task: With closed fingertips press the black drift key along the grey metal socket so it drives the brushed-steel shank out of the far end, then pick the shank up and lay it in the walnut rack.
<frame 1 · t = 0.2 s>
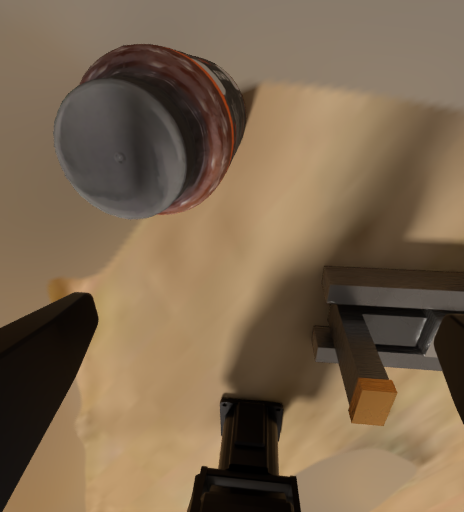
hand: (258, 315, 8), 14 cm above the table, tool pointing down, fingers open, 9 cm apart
socket: (420, 311, 24), on the table
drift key: (386, 350, 21), point 4 cm above the table, slide at 0.0 cm
supplement bottle: (198, 116, 19), on the table
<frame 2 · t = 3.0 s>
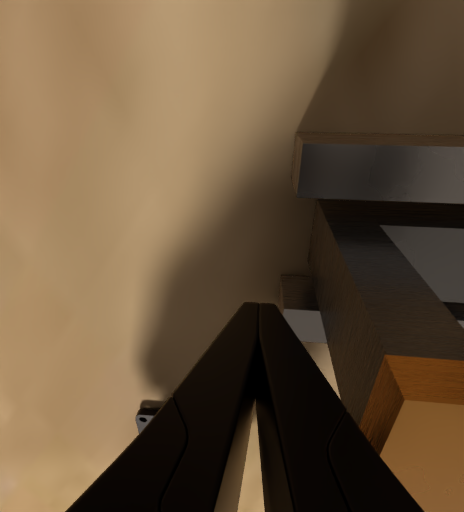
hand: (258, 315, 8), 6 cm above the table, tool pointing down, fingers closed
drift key: (440, 302, 8), point 4 cm above the table, slide at 0.1 cm, touching gripper
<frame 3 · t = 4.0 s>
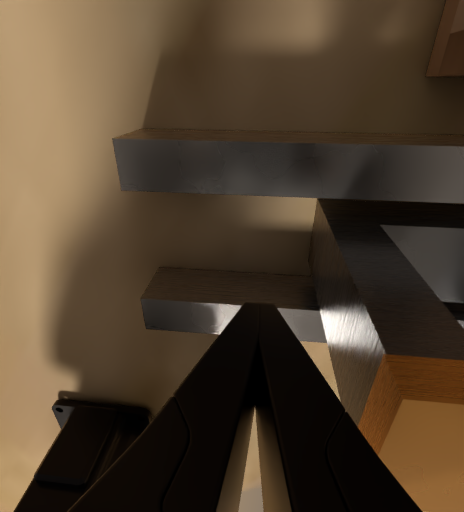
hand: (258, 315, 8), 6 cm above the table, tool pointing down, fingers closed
socket: (343, 232, 12), on the table
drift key: (440, 302, 8), point 4 cm above the table, slide at 5.8 cm, touching gripper, shank
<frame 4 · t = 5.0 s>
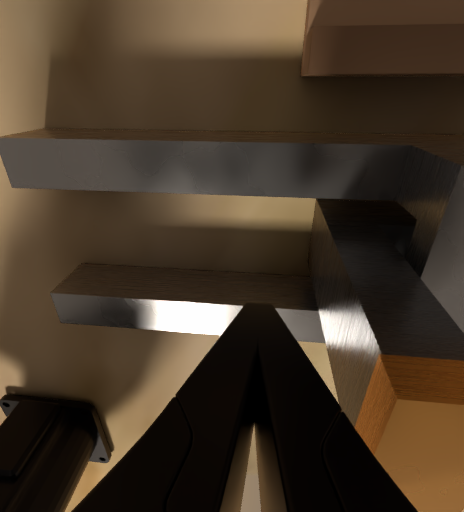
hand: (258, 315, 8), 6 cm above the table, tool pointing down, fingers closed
socket: (249, 228, 13), on the table
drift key: (439, 302, 8), point 4 cm above the table, slide at 9.6 cm, touching gripper
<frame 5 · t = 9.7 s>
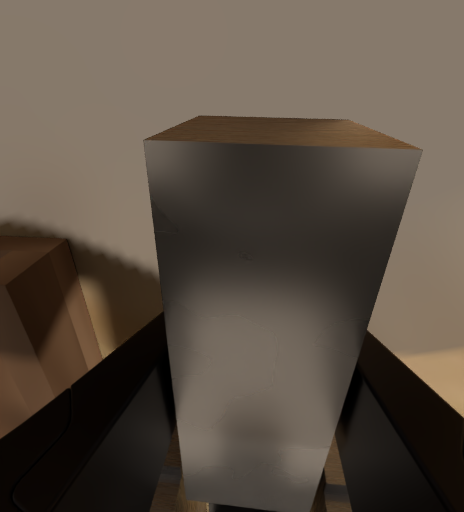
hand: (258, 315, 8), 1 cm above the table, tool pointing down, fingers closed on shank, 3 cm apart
rack: (26, 383, 12), on the table
socket: (249, 504, 15), on the table
shank: (259, 288, 9), on the table, touching gripper
when the fingers open (3 cm above the table, at t = 13.2 s): shank drops 1 cm, resting on rack.
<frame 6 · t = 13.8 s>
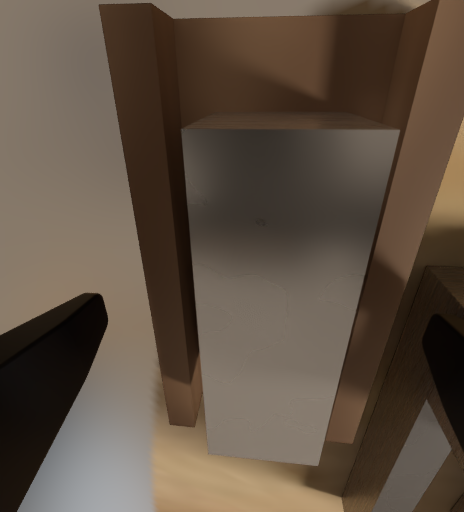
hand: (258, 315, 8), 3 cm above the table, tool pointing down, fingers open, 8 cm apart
rack: (268, 257, 10), on the table
socket: (460, 423, 14), on the table
shank: (270, 266, 10), point 1 cm above the table, touching rack
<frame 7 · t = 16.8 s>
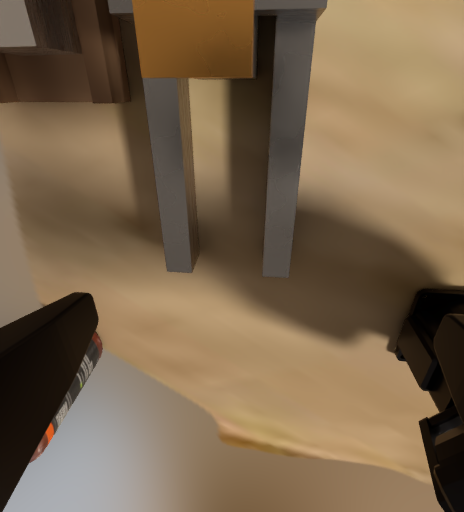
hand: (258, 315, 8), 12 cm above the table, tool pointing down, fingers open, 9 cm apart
socket: (230, 131, 17), on the table
supplement bottle: (73, 336, 27), on the table
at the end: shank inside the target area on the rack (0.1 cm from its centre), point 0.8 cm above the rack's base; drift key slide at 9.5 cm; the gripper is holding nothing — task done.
